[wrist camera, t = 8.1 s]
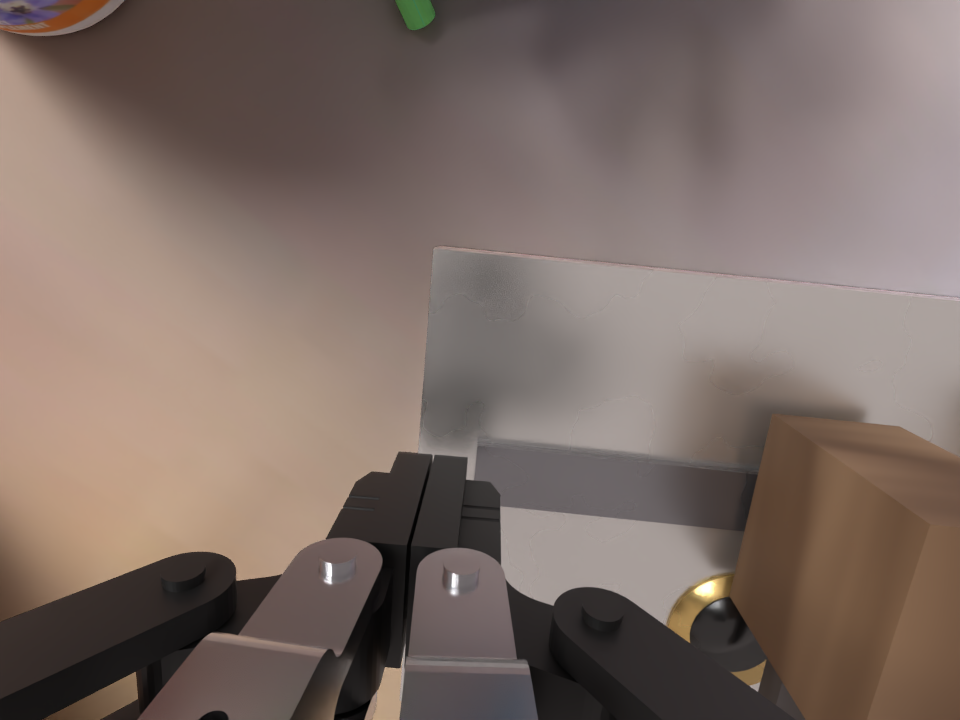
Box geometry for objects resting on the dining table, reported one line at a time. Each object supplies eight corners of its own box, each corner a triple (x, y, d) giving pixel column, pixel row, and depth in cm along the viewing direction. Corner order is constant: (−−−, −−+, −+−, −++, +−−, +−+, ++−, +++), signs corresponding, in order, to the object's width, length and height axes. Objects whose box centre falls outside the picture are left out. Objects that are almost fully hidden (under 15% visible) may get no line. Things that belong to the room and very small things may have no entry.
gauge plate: (407, 661, 18) (354, 921, 11) (439, 245, 15) (392, 265, 8) (1103, 734, 18) (1465, 1043, 11) (1287, 330, 14) (1948, 421, 8)
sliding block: (701, 715, 15) (794, 942, 11) (772, 413, 13) (929, 524, 8) (809, 726, 15) (953, 960, 11) (899, 426, 13) (1130, 545, 8)
